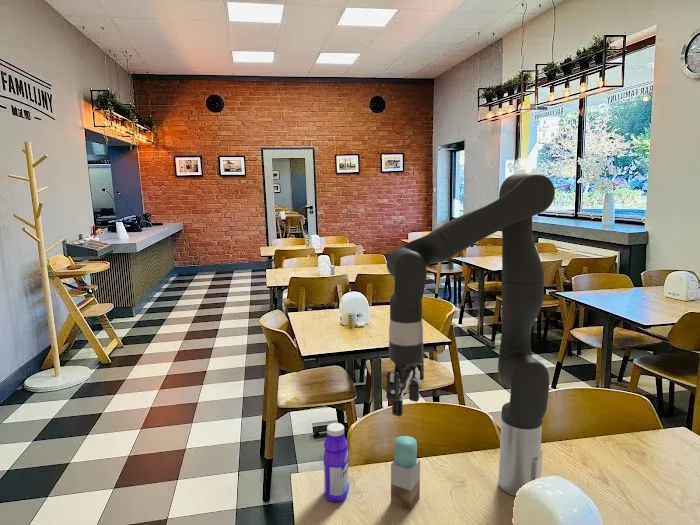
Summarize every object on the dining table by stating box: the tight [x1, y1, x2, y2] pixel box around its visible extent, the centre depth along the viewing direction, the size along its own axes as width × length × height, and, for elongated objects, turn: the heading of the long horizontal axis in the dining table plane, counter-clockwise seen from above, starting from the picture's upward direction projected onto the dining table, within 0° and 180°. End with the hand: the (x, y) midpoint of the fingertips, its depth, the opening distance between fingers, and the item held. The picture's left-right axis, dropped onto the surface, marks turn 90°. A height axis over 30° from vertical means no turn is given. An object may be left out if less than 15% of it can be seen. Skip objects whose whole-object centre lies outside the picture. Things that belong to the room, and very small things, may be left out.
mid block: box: [390, 458, 421, 491], centre depth 111 cm, size 5×5×5 cm
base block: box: [390, 479, 421, 511], centre depth 112 cm, size 5×5×5 cm
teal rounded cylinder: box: [394, 435, 418, 468], centre depth 110 cm, size 5×5×5 cm
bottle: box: [323, 422, 350, 503], centre depth 114 cm, size 7×6×17 cm
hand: (406, 407), depth 109 cm, fingers open, 8 cm apart
